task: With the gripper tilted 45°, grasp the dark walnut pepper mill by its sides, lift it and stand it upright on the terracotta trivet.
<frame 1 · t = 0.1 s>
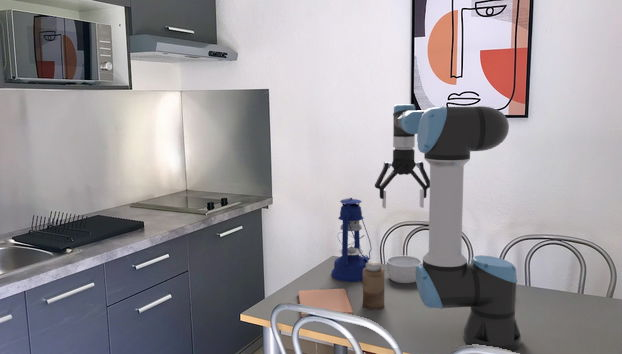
hand: (402, 207, 191), 28 cm above the table, tool pointing down, fingers open, 13 cm apart
lantern: (351, 275, 203), on the table
ramekin: (404, 279, 199), on the table
pepper mill: (373, 305, 174), on the table
trivet: (324, 305, 175), on the table
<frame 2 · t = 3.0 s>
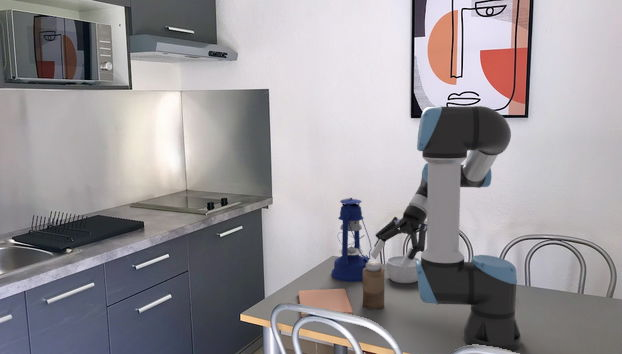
hand: (387, 261, 177), 13 cm above the table, tool tilted 45°, fingers open, 13 cm apart
nothing on the table moved.
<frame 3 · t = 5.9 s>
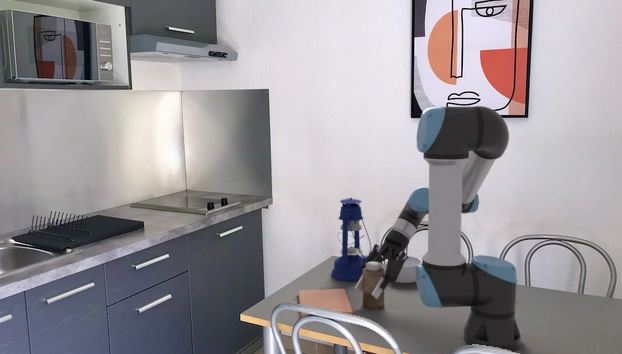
hand: (365, 293, 171), 5 cm above the table, tool tilted 45°, fingers closed on pepper mill, 7 cm apart
pepper mill: (373, 305, 174), on the table, touching gripper
everything else where it was.
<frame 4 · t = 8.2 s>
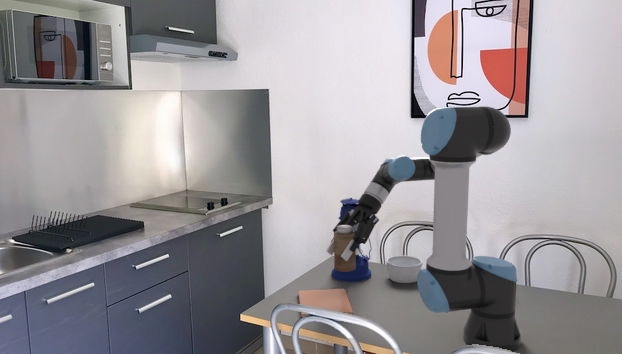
hand: (336, 255, 172), 17 cm above the table, tool tilted 45°, fingers closed on pepper mill, 7 cm apart
pepper mill: (345, 268, 175), point 12 cm above the table, touching gripper
everything else where it was.
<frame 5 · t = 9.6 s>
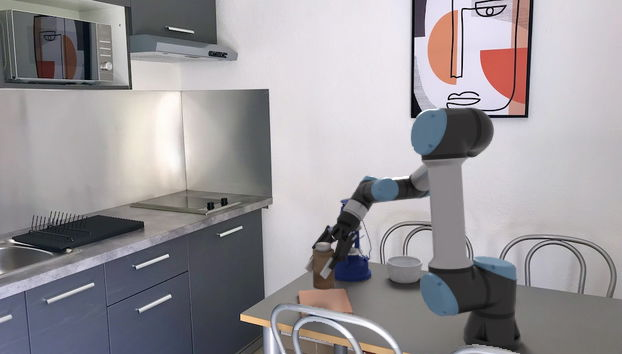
hand: (315, 273, 171), 12 cm above the table, tool tilted 45°, fingers closed on pepper mill, 7 cm apart
pepper mill: (323, 285, 174), point 6 cm above the table, touching gripper
everything else where it was.
when the fingers open (8 cm above the table, at t = 10.6 s): pepper mill drops 1 cm, resting on trivet.
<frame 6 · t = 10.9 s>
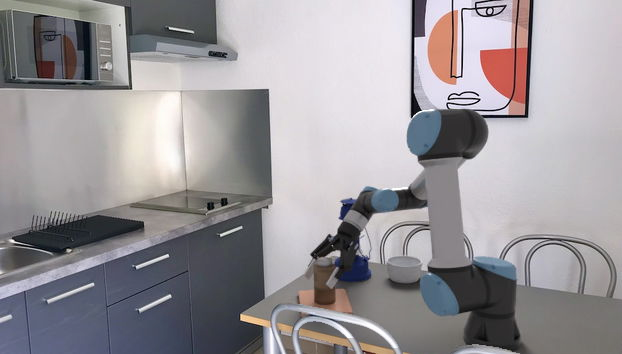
hand: (317, 281, 172), 9 cm above the table, tool tilted 45°, fingers open, 11 cm apart
pepper mill: (324, 300, 174), point 2 cm above the table, touching trivet
everything else where it was.
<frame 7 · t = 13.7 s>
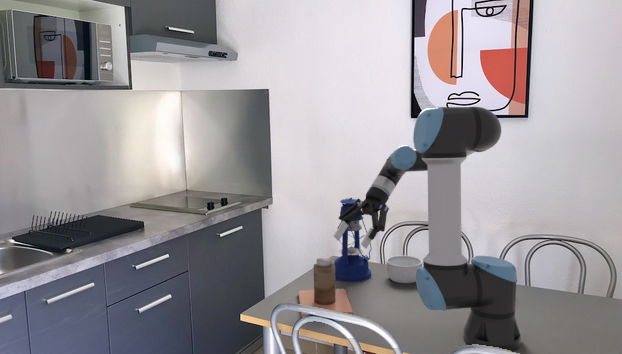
hand: (349, 242, 178), 19 cm above the table, tool tilted 45°, fingers open, 13 cm apart
nothing on the table moved.
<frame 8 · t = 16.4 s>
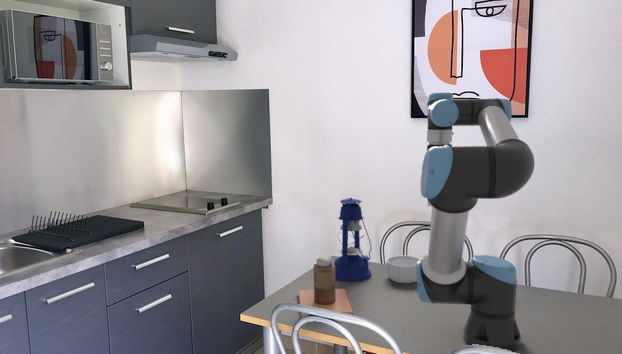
hand: (438, 210, 167), 32 cm above the table, tool pointing down, fingers open, 13 cm apart
nothing on the table moved.
at the end: pepper mill inside the target area on the trivet (0.2 cm from its centre), point 1.5 cm above the trivet's base; pepper mill tilted 0°; the gripper is holding nothing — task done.
